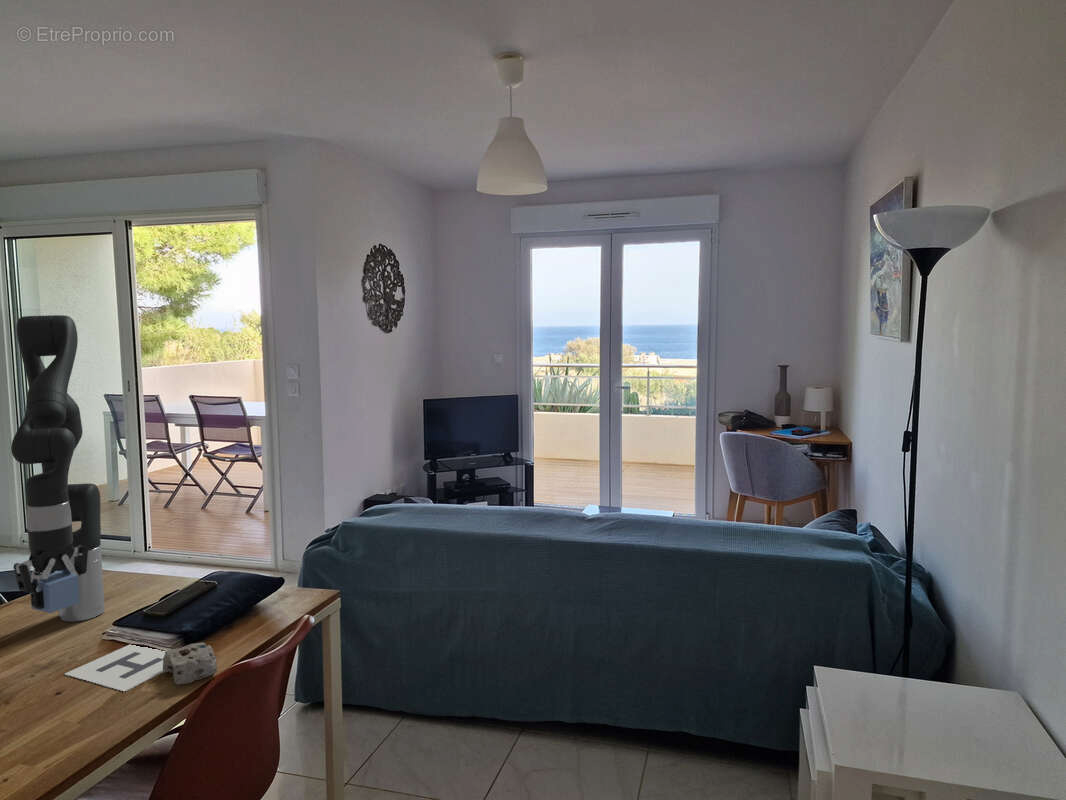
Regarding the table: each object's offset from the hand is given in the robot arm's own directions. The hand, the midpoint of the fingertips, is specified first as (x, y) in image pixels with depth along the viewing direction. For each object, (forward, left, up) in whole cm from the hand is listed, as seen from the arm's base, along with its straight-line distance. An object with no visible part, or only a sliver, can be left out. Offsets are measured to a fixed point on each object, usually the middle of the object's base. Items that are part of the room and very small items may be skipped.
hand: (55, 602), depth 144 cm
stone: (+28, +9, -14) cm, 32 cm away
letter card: (+13, +6, -14) cm, 20 cm away
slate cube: (0, 0, -1) cm, 1 cm away
